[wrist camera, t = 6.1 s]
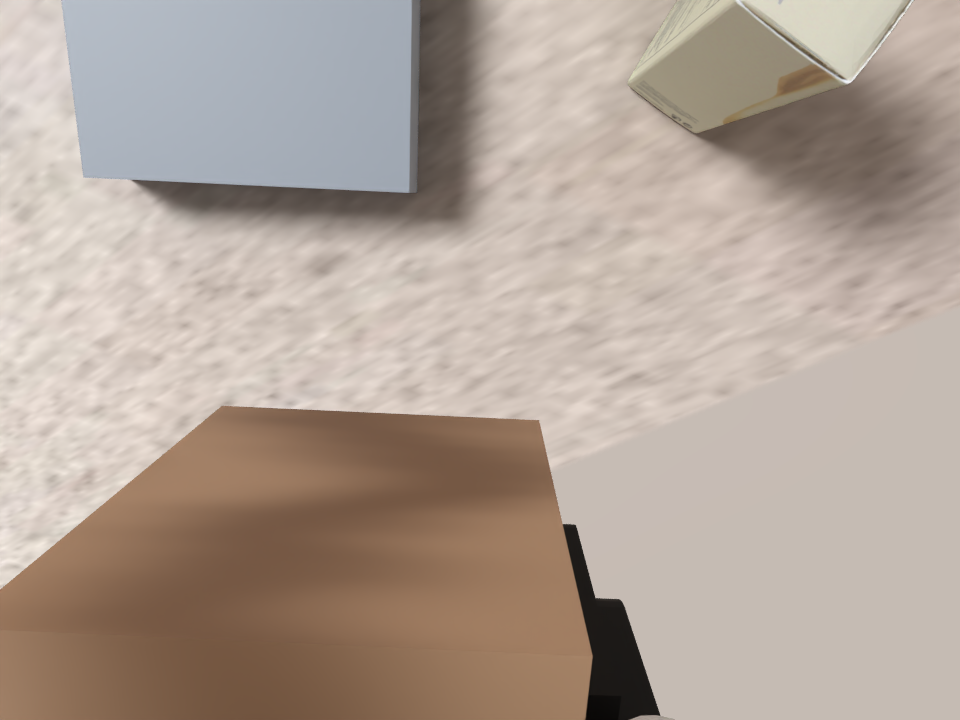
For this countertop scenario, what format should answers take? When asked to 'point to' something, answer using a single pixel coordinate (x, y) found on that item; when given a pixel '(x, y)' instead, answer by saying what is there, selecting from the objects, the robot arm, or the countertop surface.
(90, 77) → the slate base block
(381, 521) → the walnut cube
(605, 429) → the countertop surface
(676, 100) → the skincare box
